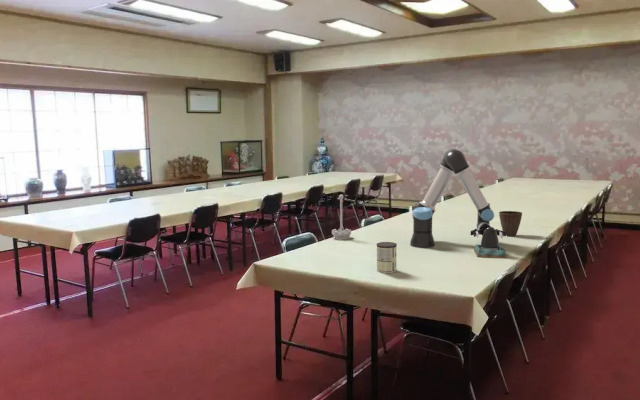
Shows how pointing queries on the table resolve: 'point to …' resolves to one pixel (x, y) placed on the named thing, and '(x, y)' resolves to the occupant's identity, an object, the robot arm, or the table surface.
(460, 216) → the table surface
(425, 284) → the table surface
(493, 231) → the dark grey glossy oval
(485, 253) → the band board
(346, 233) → the flag stand
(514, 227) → the plant pot
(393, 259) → the coffee can
